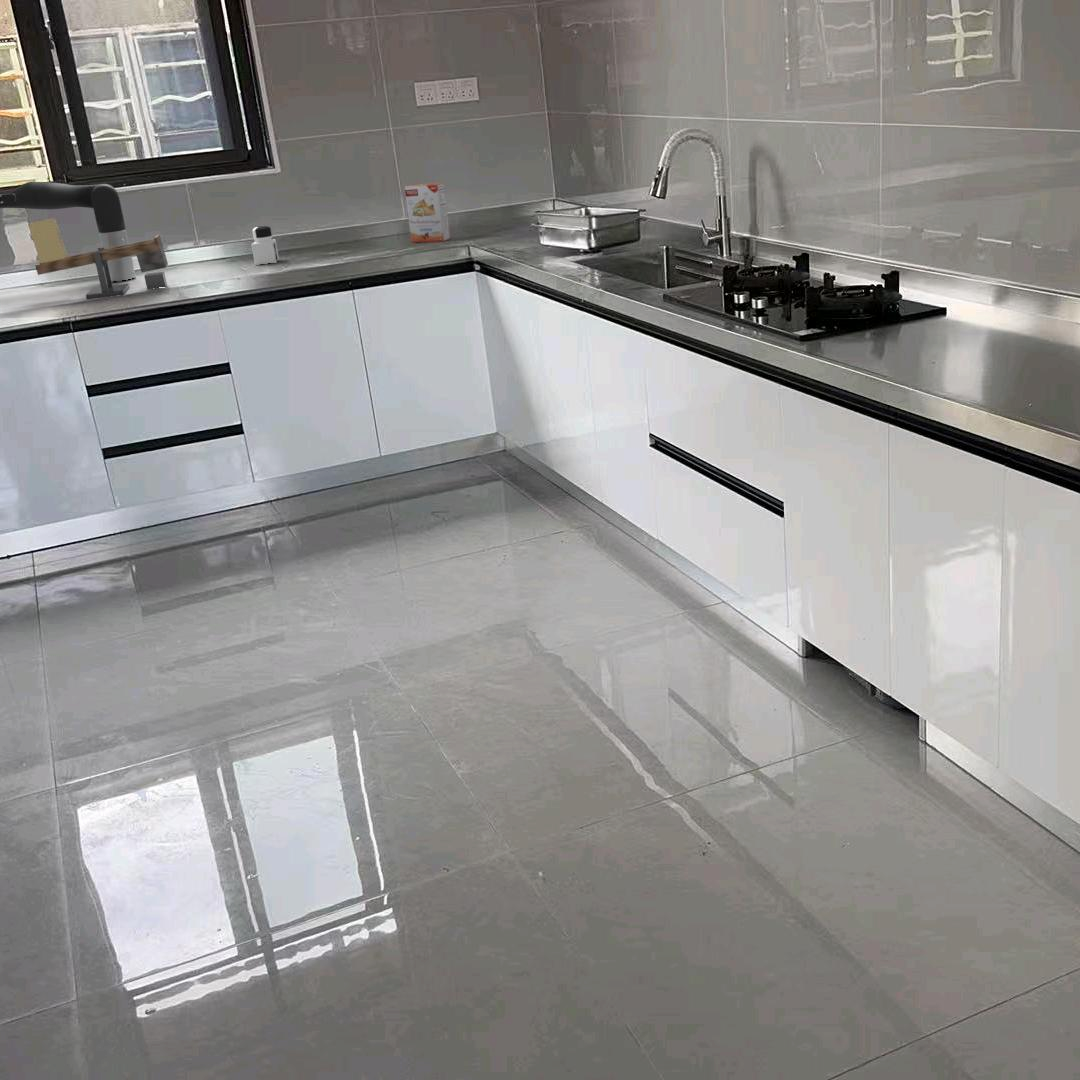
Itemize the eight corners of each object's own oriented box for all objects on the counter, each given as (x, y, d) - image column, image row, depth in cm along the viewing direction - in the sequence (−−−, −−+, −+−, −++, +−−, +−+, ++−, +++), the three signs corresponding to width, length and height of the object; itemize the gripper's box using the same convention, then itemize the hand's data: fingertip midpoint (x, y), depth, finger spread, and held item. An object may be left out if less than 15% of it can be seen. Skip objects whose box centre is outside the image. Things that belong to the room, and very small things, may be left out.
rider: (69, 260, 403) (55, 217, 398) (66, 262, 399) (52, 219, 393) (44, 265, 402) (30, 222, 397) (42, 267, 398) (27, 224, 392)
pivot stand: (168, 283, 417) (159, 240, 412) (164, 290, 402) (155, 245, 397) (93, 292, 413) (83, 249, 408) (86, 299, 399) (76, 255, 393)
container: (279, 260, 447) (273, 224, 442) (275, 263, 440) (269, 226, 435) (258, 262, 447) (252, 226, 442) (254, 265, 440) (248, 229, 435)
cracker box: (410, 243, 458) (403, 186, 451) (418, 240, 464) (411, 184, 456) (443, 241, 453) (436, 184, 445) (451, 239, 458) (444, 182, 450)
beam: (168, 264, 412) (159, 234, 408) (165, 267, 403) (156, 237, 400) (48, 289, 407) (39, 259, 403) (44, 293, 399) (34, 262, 395)
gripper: (-33, 213, 396) (22, 207, 399) (-43, 217, 384) (14, 210, 386) (-40, 189, 393) (16, 183, 396) (-50, 192, 381) (8, 186, 384)
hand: (15, 197), depth 391 cm, fingers closed
